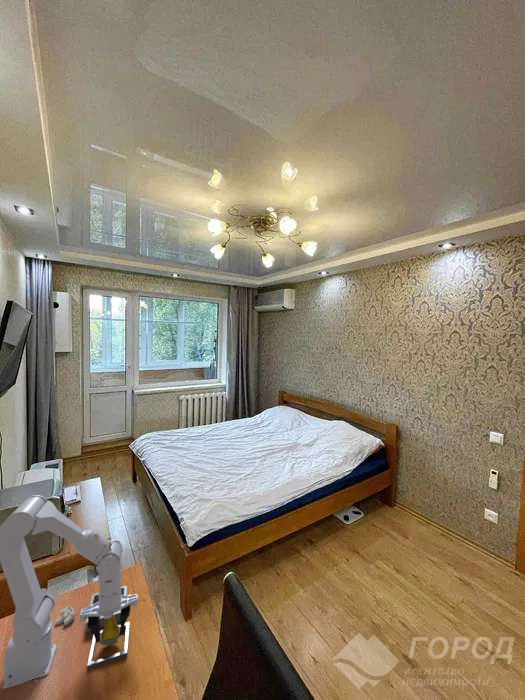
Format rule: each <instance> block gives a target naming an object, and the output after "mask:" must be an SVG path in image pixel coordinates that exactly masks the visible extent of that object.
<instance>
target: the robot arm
mask: <svg viewBox="0 0 525 700" xmlns="http://www.w3.org/2000/svg"><path fill="white" fill-rule="evenodd" d="M46 531H49V532H50V533H53V534H55V535H57V537H60V538H62V539H65V540H66V541H68V542H70V543H72V544H73V545H74V546H73V547H74V552H75V553H77V554H78V555H81V556H82V557H84V558H85V559H87V560H89V561H90V562H91V563H93V564H95V565H97V566H96V567H95V569H96V572H97V574H98V593H99V602H97V603H95V604H93V605H91V606H90V605H89V606H87V607H85V608H81V610H80V614H79V623H81V622H84V621H86V619H87V618H88V624H87V625H88V628H89V629H90V630H91V631H92V632H91V633H92V634H94V637H95V640H96V643H95V644H98V643H100V630H101V629H100V616H104V619H108V618H111V617H112V616H113V614H114V613H116V612H117V611H119V610H121V614H120V624H119V625H121V626H120V636H123V634H124V631H123V629H124V625H125V623H127V620H128V618H129V616H130V613H131V606H133V607H136V606H138V600H139V596H138V595H139V594H138V593H135V594H127V595H121V587H122V563H121V562H122V554H123V544H122V543H121V542H120V540H118V539H112V540H111V539H107V538H105V537H104V536H102V535H101V533H100V531H99V530H94V529H92V528H91V529H90V528H89V529H85V530H84V529H82V528H81V526H79V525H77V524H76V522H73V521H72V520H71V519H70V518H68V517H67V516H66V515H64V514H63V513H62V512H61V511H59V510H58V508H57V507H56V506H55V504H54V502H52V501H50V500H47V498H46V497H44V496H43V495H39V494H33V495H30V496H28V497H26V498H25V499H24V500H23V501H22V502H21V503H20V504H19V505H18V507H17V508H16V509H15V510H14V511H13V512H12V513H11V514H10V515H9V516H8V517H7V518H6V519H5V520H4V521H3V522H2V524H0V564H1V568H2V570H3V574H4V576H5V580H6V582H7V585H8V588H9V593H10V595H11V598H12V601H13V604H14V606H15V610H14V611H15V612H14V615H13V620H12V628H13V634H12V637H10V639H9V641H8V643H7V646H6V648H5V649H6V650H5V653H4V658H3V684H2V689H3V690H5V689H8V688H11V687H15V686H17V685H21V684H24V682H25V683H28V682H30V681H29V680H31V681H33V680H32V679H34V680H36V679H35V678H37V679H39V677H40V678H42V677H45V676H47V675H48V674H49V672H50V669H51V665H52V662H53V659H54V657H55V653H56V650H57V646H58V645H57V644H55V643H54V644H52V634H53V633H52V631H53V629H52V626H53V625H52V623H53V622H52V620H51V614H52V611H53V610H54V608H55V604H56V600H55V598H54V597H53V596H52V595H50V593H48V592H49V591H48V589H47V588H41V586H40V583H39V580H38V577H37V573H36V569H35V567H34V565H33V561H32V558H31V555H30V553H29V552H30V551H29V549H28V546H27V543H26V541H25V536H27V535H28V534H29V533H30V532H32V533H31V535H33V536H34V535H38V534H40V533H43V532H46ZM27 681H28V682H27Z"/></svg>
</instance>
